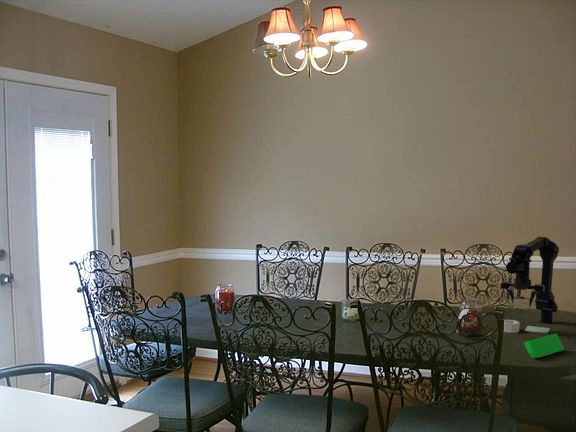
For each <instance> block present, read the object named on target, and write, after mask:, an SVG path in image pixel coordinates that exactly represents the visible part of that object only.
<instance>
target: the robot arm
mask: <svg viewBox="0 0 576 432" xmlns="http://www.w3.org/2000/svg"><path fill="white" fill-rule="evenodd" d="M536 251H539V257H540V258H541V260H542V266H541V278H540V279H541V280H540V281H541V282H540V283H535V284H534V285H532V279H530V268H531V267H530V266H531V265H530V263H531V262H532V260H531V258H532V257H533V256H534V252H536ZM559 251H560V248H559V246H558V245H557V243H555V242H554V241H552V240H550V239H549V237H546V236H537V237H536V238H535V239H533V240H531V241H528V242H527V243H523V244H520V243H519V244H517V245H515V246H514V248H513V251H512V254H511V256H510V259H509V262H507V263H506V266H505V269H506V271H507V272H508V274H510V275H514V274H515V280H514V283H512V282H511V281H502V282H501V283H500V289H504V290H505V291H507V292H508V294H509V296H510V299H511V302H512V303H513V299H514V298H515V290H522V291H526V290H531V292H530V297H529V298H530V306H531V307H532V303H533V301H534V303H535V309H536V310H539V311H540V316H539V317H540V318H539V321H538V323H541V324H550V325H553V324H554V323H555V320H553V319H554V313H557V311H558V310H559V309H558V304H557V303H556V301H555V295H554V293H553V292H552V286H553V285H552V284H553V273H554V272H553V270H554V262H555V261H556V259H557V258H558V256H559V255H558V254H559ZM534 299H535V300H534Z"/></svg>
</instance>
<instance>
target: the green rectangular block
mask: <svg viewBox="0 0 576 432" xmlns="http://www.w3.org/2000/svg"><path fill="white" fill-rule="evenodd" d="M523 345H524V347H525V349H526V350H527V352H528V355H529V356H530V358H532V359H539V358H542V357H545V356H549V355H552V354H555V353H558V352H562V351H564V350H565V348H564V345H563V344H562V341H561V340H560V337H559V336H558V333H557V332H555V333H552V334H548V335H544V336H541V337H538V338H534V339H530V340H526V341H524V342H523Z"/></svg>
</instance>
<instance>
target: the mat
mask: <svg viewBox="0 0 576 432" xmlns="http://www.w3.org/2000/svg"><path fill="white" fill-rule="evenodd" d="M550 329H551V328H550V327H543V326H541V327H540V326H532V325H527V326H526V328H525V329H524V331H525V332H533V333H542V334H548V333H549V332H550Z"/></svg>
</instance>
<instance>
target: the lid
mask: <svg viewBox="0 0 576 432" xmlns="http://www.w3.org/2000/svg"><path fill="white" fill-rule="evenodd" d="M530 298H531V297H525V296H523V295H522V296H514V299H513V302H512V308H513V309H514V308H515V309H525V310H526V309H527V310H530V309H531V308H532V305H531V306H530Z"/></svg>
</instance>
